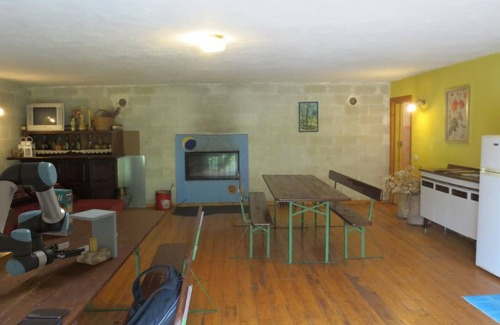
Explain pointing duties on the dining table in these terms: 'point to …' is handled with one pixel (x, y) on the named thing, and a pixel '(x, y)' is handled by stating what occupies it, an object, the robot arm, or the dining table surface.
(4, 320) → the dining table surface
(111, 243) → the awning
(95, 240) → the peg
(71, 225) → the cake mix box
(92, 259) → the socket block
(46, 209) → the robot arm
